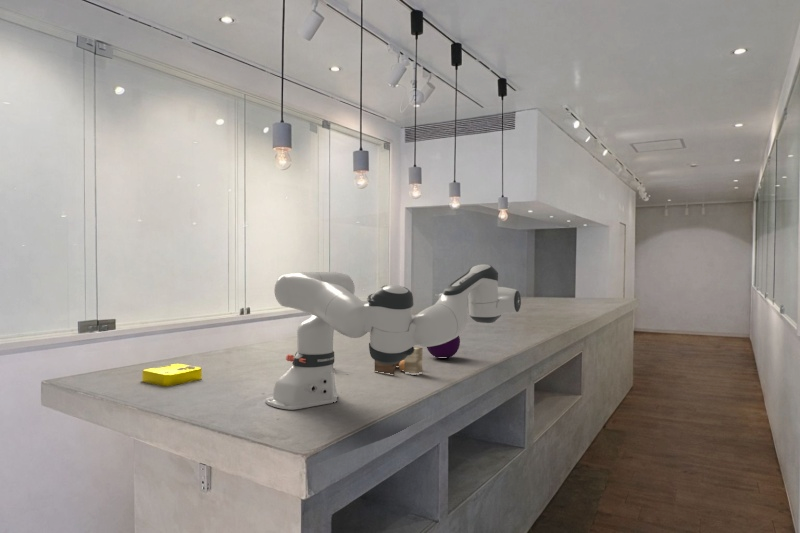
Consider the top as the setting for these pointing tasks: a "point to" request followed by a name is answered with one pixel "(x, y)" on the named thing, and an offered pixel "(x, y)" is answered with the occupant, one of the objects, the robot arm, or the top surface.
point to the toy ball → (445, 348)
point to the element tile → (171, 374)
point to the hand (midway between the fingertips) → (444, 296)
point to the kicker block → (414, 361)
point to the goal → (385, 367)
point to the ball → (402, 365)
